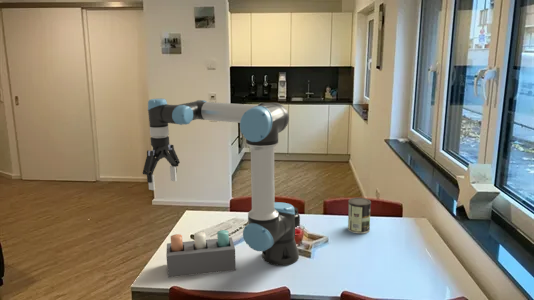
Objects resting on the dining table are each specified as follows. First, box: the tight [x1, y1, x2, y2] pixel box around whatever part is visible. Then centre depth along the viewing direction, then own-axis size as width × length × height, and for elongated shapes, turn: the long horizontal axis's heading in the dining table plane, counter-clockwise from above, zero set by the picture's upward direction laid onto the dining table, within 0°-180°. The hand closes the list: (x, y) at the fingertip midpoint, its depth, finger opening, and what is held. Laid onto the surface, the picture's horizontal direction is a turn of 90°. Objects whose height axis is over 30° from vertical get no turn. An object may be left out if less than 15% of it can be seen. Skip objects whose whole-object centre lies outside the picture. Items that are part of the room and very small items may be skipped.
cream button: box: [193, 231, 207, 250], centre depth 176 cm, size 4×4×6 cm
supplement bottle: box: [293, 206, 301, 227], centre depth 208 cm, size 7×7×12 cm
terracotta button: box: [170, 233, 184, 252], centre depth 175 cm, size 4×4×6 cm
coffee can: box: [347, 197, 372, 234], centre depth 211 cm, size 10×10×14 cm
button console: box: [165, 237, 237, 278], centre depth 178 cm, size 26×11×9 cm, turn 101°
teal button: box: [216, 229, 230, 248], centre depth 178 cm, size 4×4×6 cm
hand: (163, 185), depth 191 cm, fingers open, 13 cm apart
